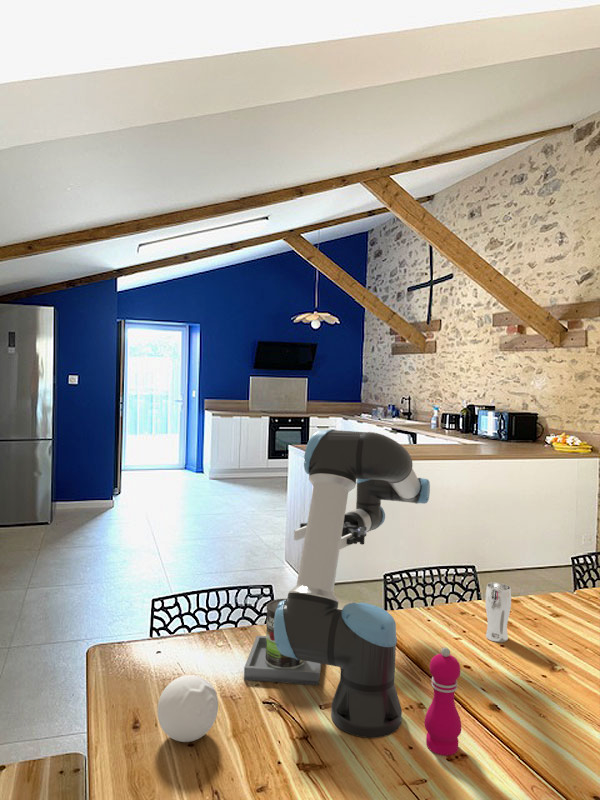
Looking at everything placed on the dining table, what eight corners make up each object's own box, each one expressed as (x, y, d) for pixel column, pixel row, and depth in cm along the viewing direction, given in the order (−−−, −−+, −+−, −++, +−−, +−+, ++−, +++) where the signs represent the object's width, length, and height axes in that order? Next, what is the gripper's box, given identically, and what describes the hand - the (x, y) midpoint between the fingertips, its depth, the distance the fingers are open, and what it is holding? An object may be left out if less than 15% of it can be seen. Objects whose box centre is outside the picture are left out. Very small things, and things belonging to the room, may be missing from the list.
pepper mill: (461, 760, 115) (465, 658, 115) (423, 754, 117) (427, 653, 116) (459, 738, 123) (463, 642, 122) (423, 733, 124) (426, 638, 123)
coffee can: (285, 674, 145) (287, 617, 144) (256, 660, 152) (258, 605, 151) (314, 660, 152) (315, 606, 152) (285, 647, 159) (286, 595, 159)
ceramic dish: (318, 685, 142) (319, 672, 142) (243, 679, 144) (244, 667, 144) (322, 651, 160) (323, 640, 160) (256, 646, 162) (256, 635, 161)
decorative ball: (180, 764, 112) (181, 701, 112) (145, 736, 120) (146, 678, 120) (229, 737, 121) (230, 679, 120) (193, 713, 129) (194, 658, 128)
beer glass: (512, 636, 172) (514, 585, 172) (506, 645, 166) (508, 592, 166) (487, 630, 176) (489, 580, 176) (481, 639, 170) (483, 587, 170)
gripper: (392, 544, 171) (358, 562, 153) (316, 530, 184) (277, 545, 166) (392, 517, 170) (359, 533, 152) (317, 505, 184) (278, 518, 166)
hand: (316, 539), depth 159 cm, fingers open, 13 cm apart
